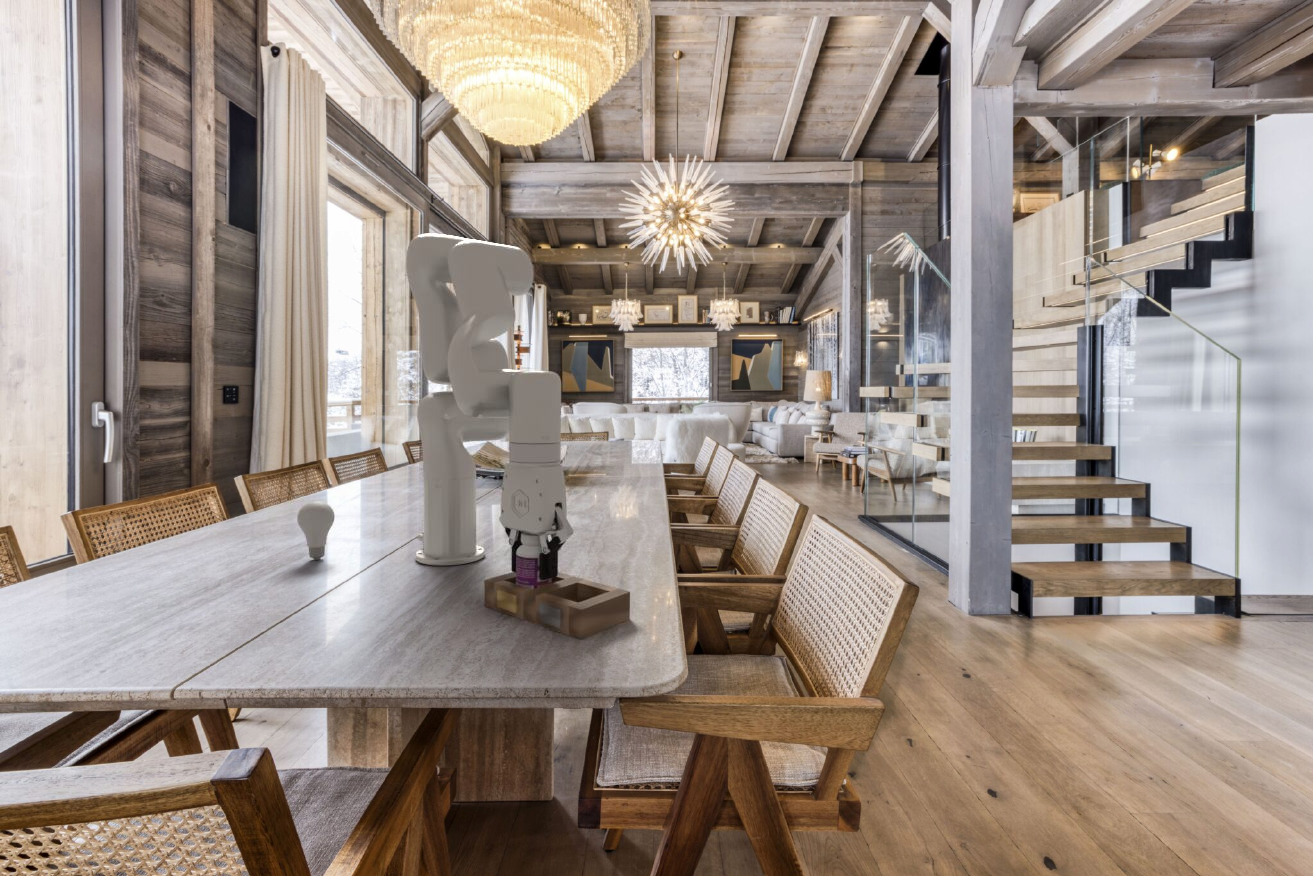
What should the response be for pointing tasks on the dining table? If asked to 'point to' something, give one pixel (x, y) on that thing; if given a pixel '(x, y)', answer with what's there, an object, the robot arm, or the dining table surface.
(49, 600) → the dining table surface
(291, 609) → the dining table surface
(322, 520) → the lightbulb
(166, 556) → the dining table surface
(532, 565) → the pill bottle
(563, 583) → the socket block
